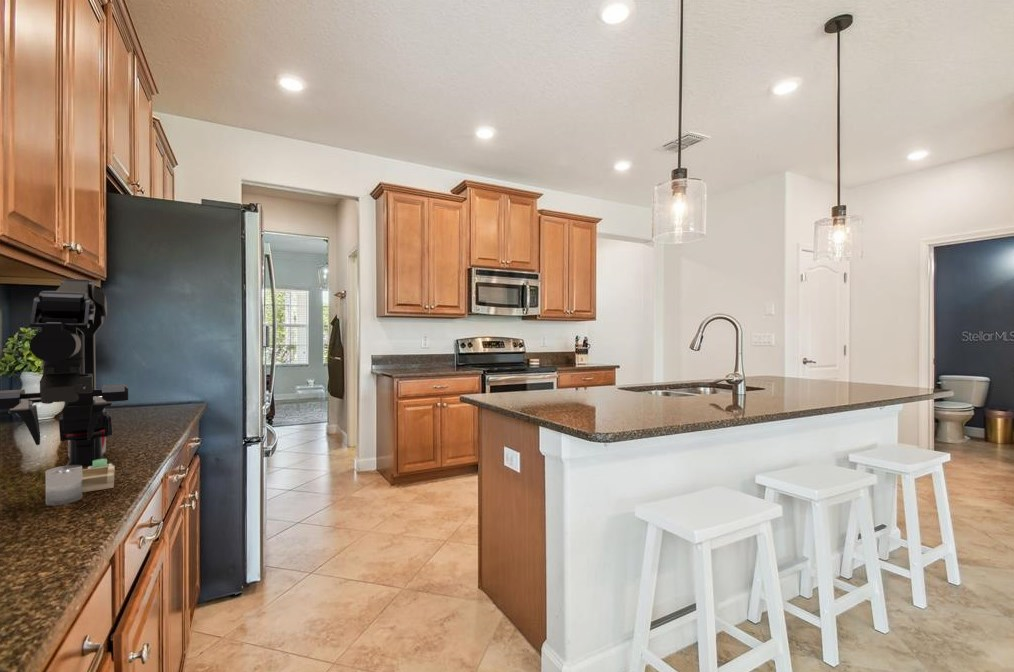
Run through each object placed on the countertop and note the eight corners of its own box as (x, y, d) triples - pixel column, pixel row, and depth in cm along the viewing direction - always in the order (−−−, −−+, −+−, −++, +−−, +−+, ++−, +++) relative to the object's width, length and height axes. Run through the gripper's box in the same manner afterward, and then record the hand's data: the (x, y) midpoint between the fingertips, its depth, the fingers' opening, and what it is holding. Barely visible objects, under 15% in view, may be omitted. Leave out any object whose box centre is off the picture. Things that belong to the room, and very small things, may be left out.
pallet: (57, 484, 96) (57, 472, 96) (114, 476, 102) (114, 465, 102) (51, 497, 89) (51, 484, 89) (113, 487, 95) (113, 475, 95)
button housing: (88, 474, 103) (88, 466, 103) (112, 471, 105) (112, 463, 105) (87, 479, 99) (87, 471, 99) (111, 475, 102) (111, 467, 102)
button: (92, 473, 102) (92, 459, 102) (107, 471, 104) (107, 458, 104) (92, 476, 101) (92, 462, 101) (106, 474, 102) (106, 460, 102)
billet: (47, 499, 88) (47, 468, 88) (83, 493, 91) (83, 463, 91) (43, 507, 84) (43, 474, 84) (81, 501, 87) (81, 469, 87)
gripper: (-22, 363, 75) (-21, 459, 75) (128, 359, 87) (128, 442, 87) (-6, 359, 84) (-6, 446, 84) (128, 356, 95) (128, 432, 96)
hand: (64, 441), depth 87 cm, fingers open, 7 cm apart
